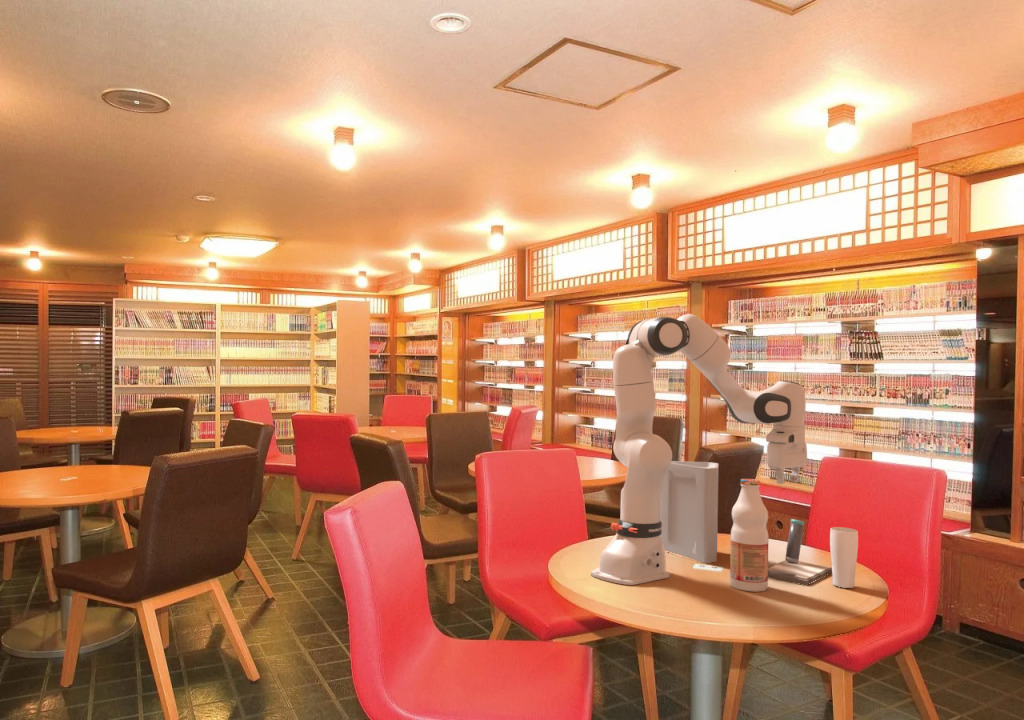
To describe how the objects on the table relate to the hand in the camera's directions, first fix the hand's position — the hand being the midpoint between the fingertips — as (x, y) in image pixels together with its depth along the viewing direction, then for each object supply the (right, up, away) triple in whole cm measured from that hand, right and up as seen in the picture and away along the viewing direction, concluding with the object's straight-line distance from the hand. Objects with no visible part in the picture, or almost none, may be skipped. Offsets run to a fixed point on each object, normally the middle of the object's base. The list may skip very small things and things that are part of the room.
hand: (787, 482), depth 206 cm
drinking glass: (+7, -24, -21) cm, 33 cm away
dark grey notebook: (-1, -24, -9) cm, 26 cm away
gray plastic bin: (-24, -24, +11) cm, 36 cm away
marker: (0, -23, -2) cm, 23 cm away
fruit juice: (-19, -24, -23) cm, 38 cm away
